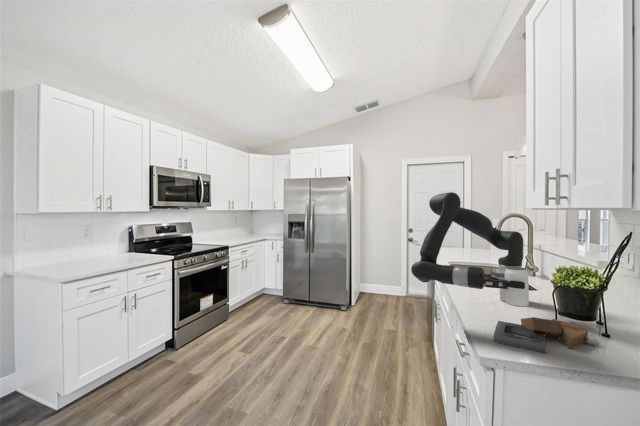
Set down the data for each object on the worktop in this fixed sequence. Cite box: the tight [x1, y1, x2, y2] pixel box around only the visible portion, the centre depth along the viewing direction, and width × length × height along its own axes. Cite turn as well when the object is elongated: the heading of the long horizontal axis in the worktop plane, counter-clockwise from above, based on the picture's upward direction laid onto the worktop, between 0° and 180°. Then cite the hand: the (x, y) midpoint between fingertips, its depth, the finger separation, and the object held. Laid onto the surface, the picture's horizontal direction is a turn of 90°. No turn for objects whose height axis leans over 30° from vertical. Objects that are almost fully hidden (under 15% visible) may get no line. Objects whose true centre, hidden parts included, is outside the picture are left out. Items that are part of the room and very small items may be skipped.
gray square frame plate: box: [493, 320, 547, 354], centre depth 90 cm, size 14×13×2 cm
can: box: [504, 266, 530, 308], centre depth 90 cm, size 6×6×12 cm
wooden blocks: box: [520, 317, 598, 350], centre depth 88 cm, size 8×13×18 cm
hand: (524, 283), depth 89 cm, fingers closed on can, 6 cm apart
